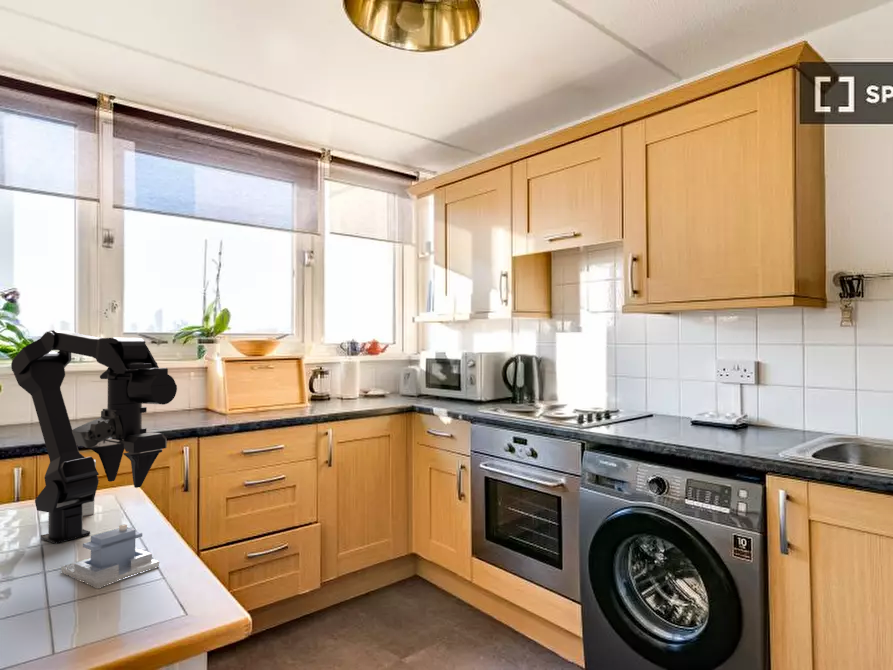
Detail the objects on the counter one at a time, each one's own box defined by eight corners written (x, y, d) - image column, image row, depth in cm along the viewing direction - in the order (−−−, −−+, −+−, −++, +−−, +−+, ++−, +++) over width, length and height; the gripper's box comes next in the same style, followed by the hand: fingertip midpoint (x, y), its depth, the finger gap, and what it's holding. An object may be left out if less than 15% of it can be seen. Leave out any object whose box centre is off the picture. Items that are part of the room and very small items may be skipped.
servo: (93, 575, 90) (93, 536, 90) (82, 571, 92) (83, 533, 92) (142, 559, 97) (142, 523, 97) (131, 555, 98) (131, 520, 99)
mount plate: (61, 572, 93) (61, 559, 94) (121, 553, 102) (121, 541, 102) (97, 588, 87) (97, 574, 87) (158, 567, 96) (158, 554, 96)
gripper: (54, 404, 104) (53, 487, 104) (106, 409, 94) (105, 501, 94) (115, 399, 113) (114, 475, 113) (168, 403, 104) (168, 487, 103)
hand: (124, 484), depth 105 cm, fingers open, 9 cm apart
